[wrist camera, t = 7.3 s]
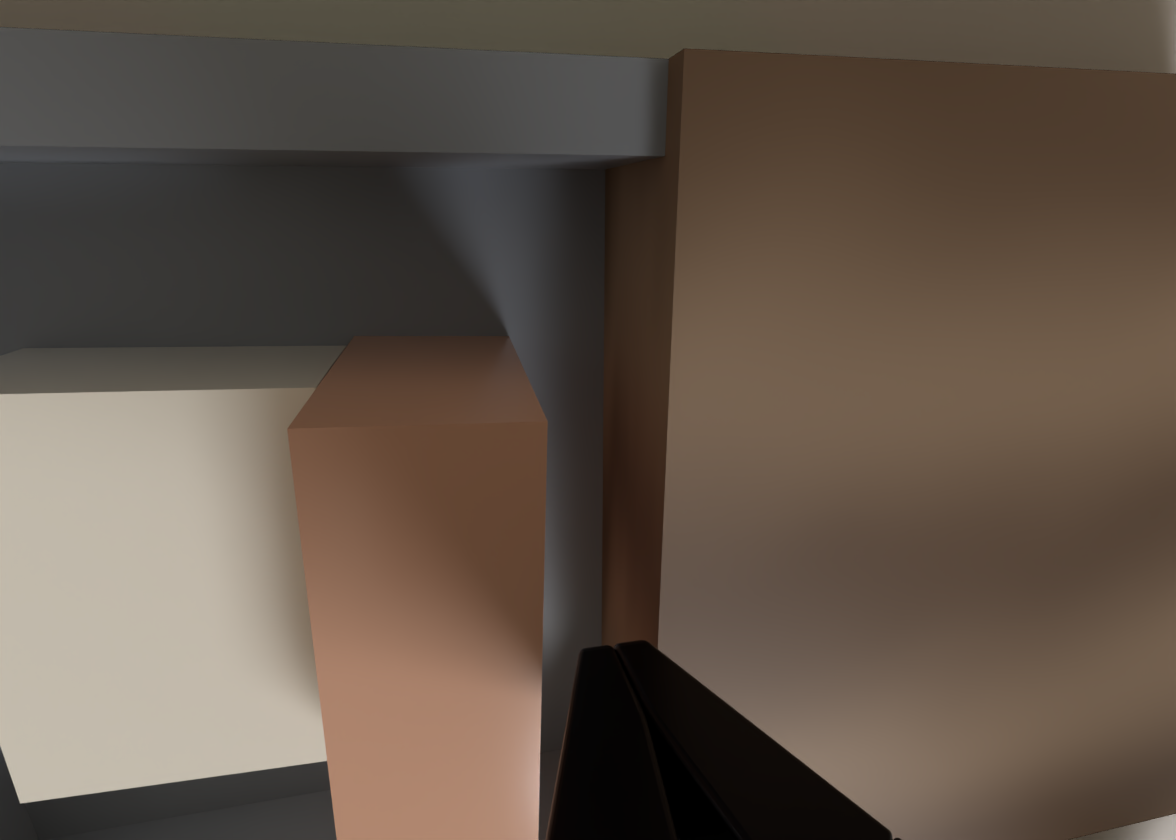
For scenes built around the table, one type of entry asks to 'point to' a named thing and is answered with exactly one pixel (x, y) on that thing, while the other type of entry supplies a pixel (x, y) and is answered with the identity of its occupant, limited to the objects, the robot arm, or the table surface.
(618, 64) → the tray
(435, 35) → the table surface
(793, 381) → the brown flat block
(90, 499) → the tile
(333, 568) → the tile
